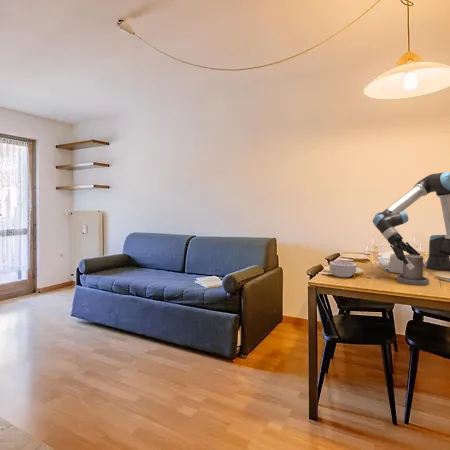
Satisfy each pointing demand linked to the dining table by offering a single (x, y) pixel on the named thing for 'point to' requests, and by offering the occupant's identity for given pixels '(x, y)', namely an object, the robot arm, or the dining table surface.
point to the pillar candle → (416, 271)
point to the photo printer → (396, 264)
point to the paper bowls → (342, 268)
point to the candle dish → (413, 281)
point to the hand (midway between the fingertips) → (418, 267)
